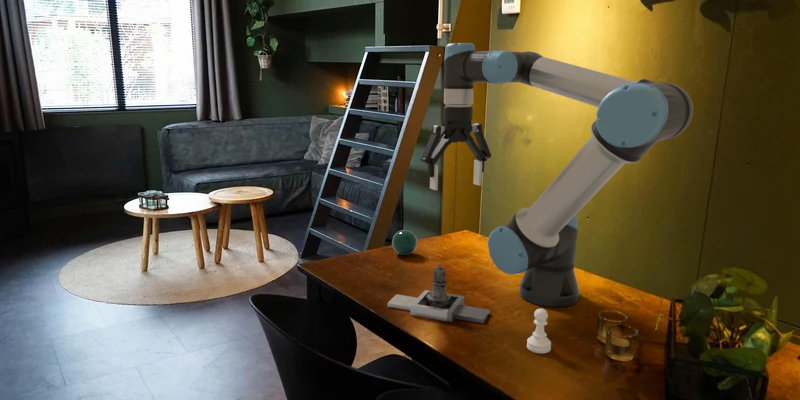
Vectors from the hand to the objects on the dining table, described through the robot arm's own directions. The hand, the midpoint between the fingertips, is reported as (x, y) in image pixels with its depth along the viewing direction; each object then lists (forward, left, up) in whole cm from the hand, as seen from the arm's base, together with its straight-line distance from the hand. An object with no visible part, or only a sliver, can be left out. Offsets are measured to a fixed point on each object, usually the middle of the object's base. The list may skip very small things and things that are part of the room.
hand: (455, 187), depth 150 cm
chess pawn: (-27, +28, -28) cm, 48 cm away
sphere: (+22, -18, -28) cm, 39 cm away
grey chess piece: (-2, +18, -28) cm, 33 cm away
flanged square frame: (-1, +18, -27) cm, 33 cm away
